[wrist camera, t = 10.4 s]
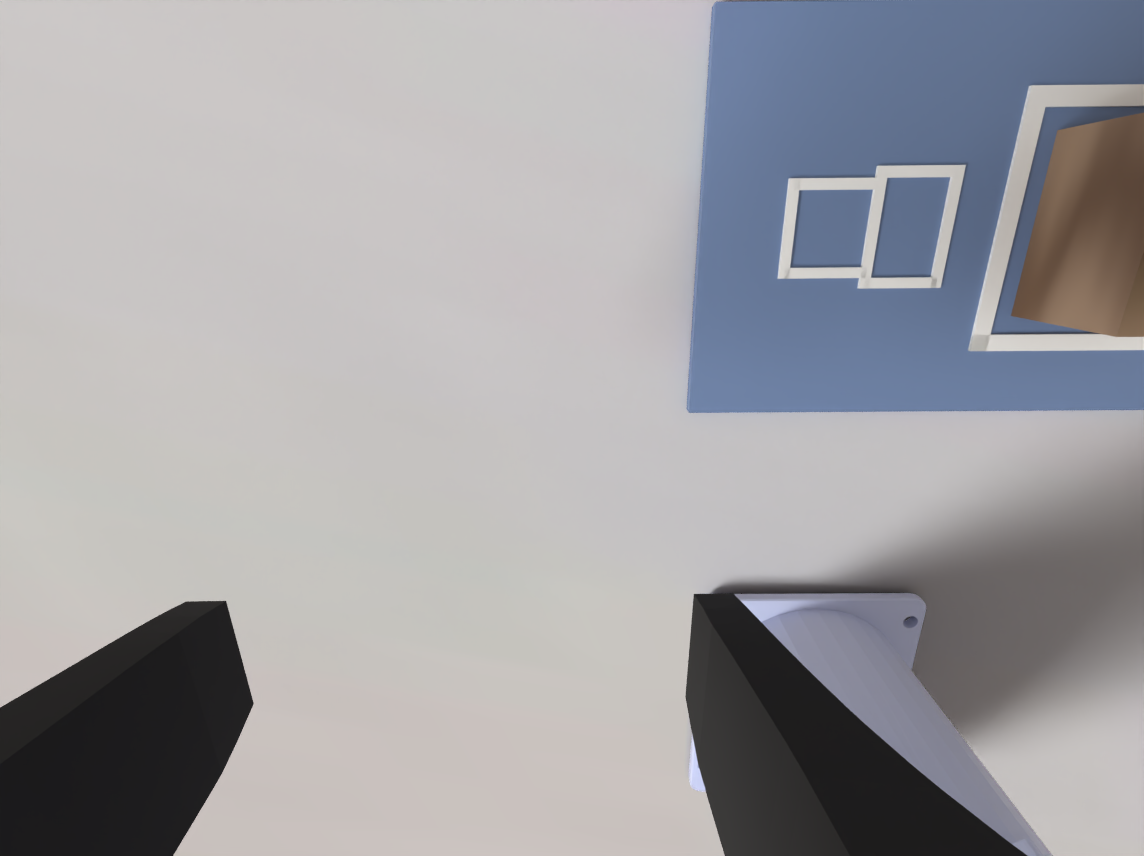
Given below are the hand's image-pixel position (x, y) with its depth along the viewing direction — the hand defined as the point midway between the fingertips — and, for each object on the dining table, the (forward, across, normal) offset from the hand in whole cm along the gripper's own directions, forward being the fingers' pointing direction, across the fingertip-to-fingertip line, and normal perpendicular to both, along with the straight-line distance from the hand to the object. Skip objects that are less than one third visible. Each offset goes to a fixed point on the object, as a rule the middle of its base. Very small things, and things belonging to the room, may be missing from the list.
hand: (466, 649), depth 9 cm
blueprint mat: (+10, -14, -6) cm, 18 cm away
